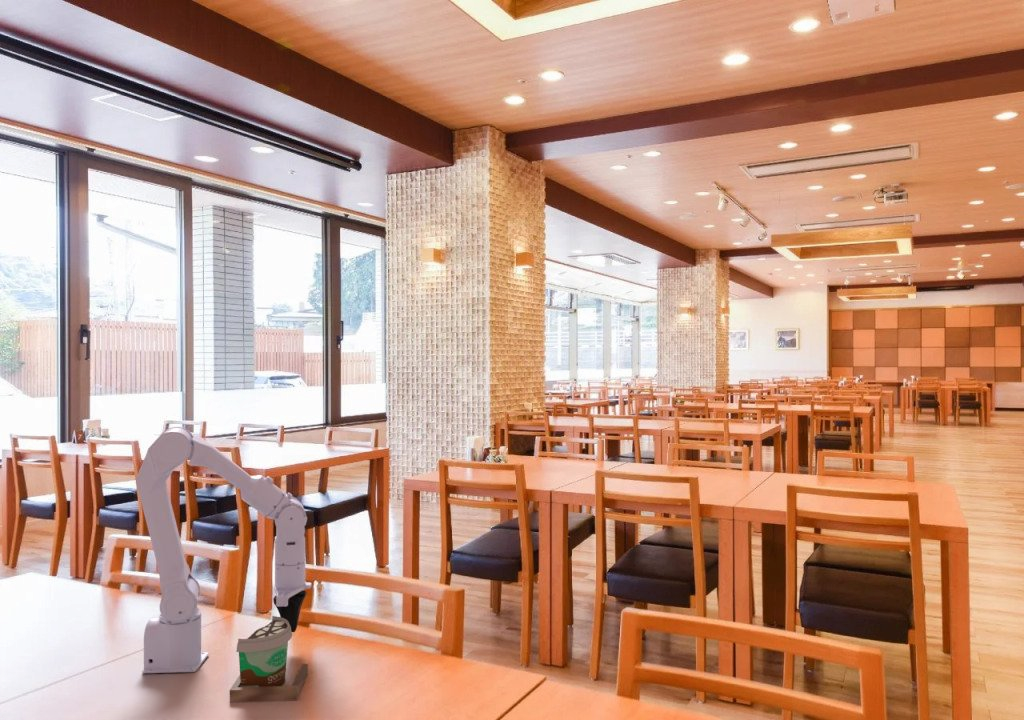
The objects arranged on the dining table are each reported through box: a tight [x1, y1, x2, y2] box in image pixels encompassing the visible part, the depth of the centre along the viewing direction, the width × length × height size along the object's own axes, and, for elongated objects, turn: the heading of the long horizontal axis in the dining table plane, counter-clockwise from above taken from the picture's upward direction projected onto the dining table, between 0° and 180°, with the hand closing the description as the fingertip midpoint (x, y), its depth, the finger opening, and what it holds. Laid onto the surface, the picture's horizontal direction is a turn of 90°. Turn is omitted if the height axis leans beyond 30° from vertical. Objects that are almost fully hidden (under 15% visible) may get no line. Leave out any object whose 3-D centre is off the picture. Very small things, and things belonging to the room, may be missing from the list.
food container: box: [235, 615, 293, 687], centre depth 134 cm, size 12×6×10 cm, turn 168°
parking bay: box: [229, 663, 309, 703], centre depth 132 cm, size 11×10×2 cm
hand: (290, 631), depth 148 cm, fingers closed
